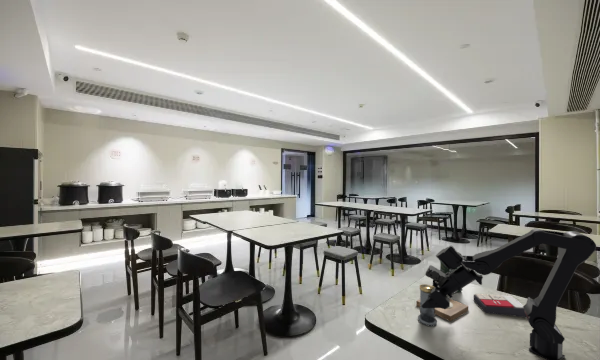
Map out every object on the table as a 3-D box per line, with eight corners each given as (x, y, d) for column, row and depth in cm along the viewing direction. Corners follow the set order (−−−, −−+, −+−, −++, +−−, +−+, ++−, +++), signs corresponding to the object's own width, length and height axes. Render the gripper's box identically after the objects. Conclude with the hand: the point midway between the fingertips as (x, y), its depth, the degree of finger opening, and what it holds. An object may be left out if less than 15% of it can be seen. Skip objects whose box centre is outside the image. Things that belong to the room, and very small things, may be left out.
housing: (440, 323, 95) (441, 289, 95) (428, 328, 92) (429, 292, 92) (425, 315, 101) (426, 282, 100) (414, 319, 98) (414, 285, 98)
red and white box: (473, 292, 113) (512, 294, 110) (473, 302, 113) (512, 304, 110) (484, 304, 103) (528, 307, 99) (485, 315, 103) (529, 318, 99)
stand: (468, 310, 104) (468, 305, 104) (450, 321, 96) (450, 315, 96) (434, 297, 116) (434, 292, 116) (416, 305, 108) (416, 300, 108)
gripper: (441, 254, 102) (411, 275, 108) (438, 268, 86) (403, 292, 92) (464, 277, 98) (431, 298, 104) (465, 297, 82) (427, 320, 88)
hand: (423, 301), depth 97 cm, fingers open, 9 cm apart
